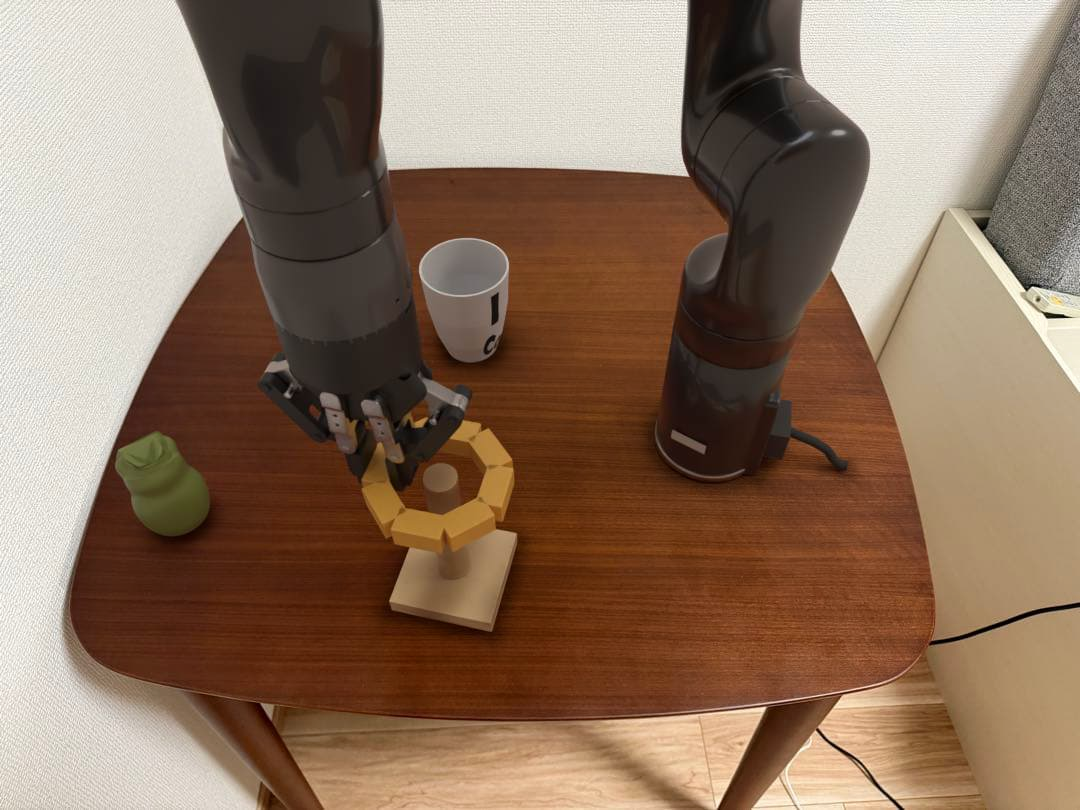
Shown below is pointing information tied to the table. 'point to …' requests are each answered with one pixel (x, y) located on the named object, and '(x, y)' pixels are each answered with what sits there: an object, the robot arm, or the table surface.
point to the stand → (454, 566)
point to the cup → (466, 295)
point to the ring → (458, 523)
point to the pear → (163, 485)
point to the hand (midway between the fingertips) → (386, 477)
